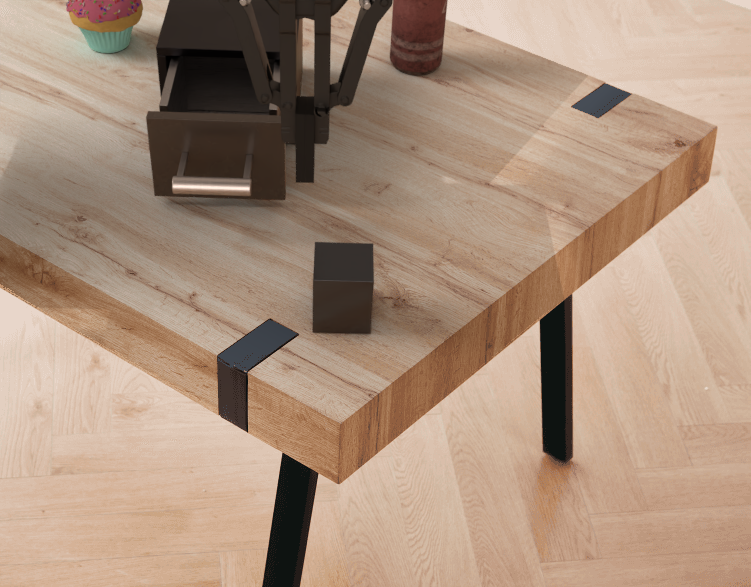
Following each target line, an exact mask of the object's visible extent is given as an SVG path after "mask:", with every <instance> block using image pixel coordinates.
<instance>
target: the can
mask: <svg viewBox="0 0 751 587" xmlns="http://www.w3.org/2000/svg"><path fill="white" fill-rule="evenodd" d="M448 2H449V1H448V0H393V2H392V13H391V14H392V15H391V30H390V47H389V60H390V63H391V65H392V66H393V67H394V68H395V69H396V70H397V71H399V72H401V73H404V74H406V75H412V76H424V75H428V74H429V75H430V74H431V73H433V72H435V71H436V70H438V68H439V67H440V66H441V64H442V61H443V52H444V51H443V50H444V40H445V30H446V21H447V9H448Z"/></svg>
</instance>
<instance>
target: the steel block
mask: <svg viewBox="0 0 751 587" xmlns="http://www.w3.org/2000/svg"><path fill="white" fill-rule="evenodd" d="M313 253H314V254H313V271H312V321H311V322H312V325H311V326H312V331H311V332H312V333H315V334H317V333H319V334H355V335H356V334H357V335H359V334H360V335H371V333H372V316H373V303H374V286H375V265H374V264H375V263H374V262H375V261H374V260H375V259H374V243H365V242H364V243H363V242H335V241H333V242H331V241H314V250H313Z"/></svg>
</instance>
